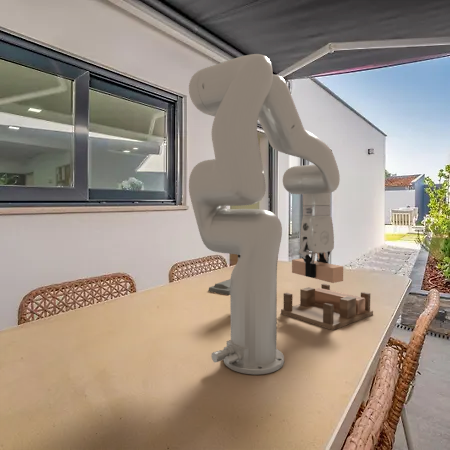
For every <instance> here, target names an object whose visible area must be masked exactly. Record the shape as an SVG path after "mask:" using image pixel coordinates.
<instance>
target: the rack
mask: <svg viewBox="0 0 450 450" xmlns="http://www.w3.org/2000/svg"><path fill="white" fill-rule="evenodd" d="M330 288H331V286H330V284H328V283H322V284H321V287H318V288H314V287H304V288H300V293H299V294H300V296H299V298H300V300H299V301H300V302H299V303H298V304H295V305H293V293H289V292H284V293H283V308H281V310H280V314H282V315H285V316H288V317H291V318H294V319H298V320H301V321H303V322H306V323H310V324H314V325H315V326H319V327H322V328H325V329H328V330H331V331H335V330H337V329H340V328H342V327H345V326H347V325H350V324H352V323H355V322H358V321H360V320H363V319H366V318H368V317H370V316H373V315H374V311H373V310H372V309H371V293H369V292H365V291H362V292H360V296H357V295H354V294H349V293H344V292H339V291H336V290H331V289H330Z"/></svg>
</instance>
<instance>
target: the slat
mask: <svg viewBox="0 0 450 450" xmlns="http://www.w3.org/2000/svg"><path fill="white" fill-rule="evenodd" d="M314 264H316V277H315V278H314V279H315V280H319V281H324V282H327V283H331V284H334V283H335V284H336V283H341V282H344V266H343V265H340V264H339V265H338V264H331V263H328V262H327V263H323V262H318V261H317V260H315V261H314ZM291 273H292V274H296V275H298V276H299V275H300V276H304V277H306V276H305V263H304V259H303V258H302V257H301V258H295V259H291Z"/></svg>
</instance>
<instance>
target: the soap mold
mask: <svg viewBox="0 0 450 450" xmlns="http://www.w3.org/2000/svg"><path fill="white" fill-rule="evenodd" d="M230 279H231V278H230ZM230 279H227V280H223V281H221V282H217V283H215V284H214V285H212V286H210V287H208V291H207V292H209V291H210V293H214V292H216V293H215V294H220V293H221V294H222V295H226V294H227V295H226V296H230Z"/></svg>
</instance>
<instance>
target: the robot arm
mask: <svg viewBox="0 0 450 450" xmlns="http://www.w3.org/2000/svg"><path fill="white" fill-rule="evenodd" d="M273 70H274V69H273V65H272V62H271V61H270V58H268V57H267V56H266V55H264V54H260V53H254V54H253V53H250V54H247V55H242V56H238V57H236V58H234V57H233V58H232V59H231V58H230V59H229V60H225V61H224V62H220V63H217V64H214V65H210V66H207V67H203V68H202V69H200V70H197V71H196V72H195V73H194V74H193V75H192V76H191V79H190V80H189V83H188V94H189V99H190V100H191V102H192V104H193V106H194V107H195V108H196V109H197V110H198V111H199V112H201V113H202V114H205V115H209V116H211V117H214V118H213V122H212V125H211V126H212V127H211V142H212V147H213V151H214V152H213V154H214V159H213V158H212V159H207V160H202V161H200V162H198V163H197V164H195V166H193V168H192V170H191V172H190V174H189V178H188V192H189V196H190V201H191V204H192V205H191V206H192V209H193V213H194V216H195V220H196V224H197V228H198V231H199V236H200V239H201V241H202V243H203V245H204V246H205V248H207V249H208V250H209V251H211V252H215V253H219V254H220V253H221V254H227V255H228V254H230V255H231V254H232V255H237V256H238V255H240V259H239V261H238V260H237V262H236V264H235V265H234V267H233V268H232V271H231V274H230V295H229V296H230V301H229V303H230V340H229V339H228V340H227V341H226V346H225V347H223V349H221V350H220V349H219V350H216V351H213V352H212V353H211V356H210V357H211V359H212V362H213V363H219V362H222V361H223V363H224V365H225V366H226V367H227V368H229V369H231V370H232V371H234V372H238V373H240V374H247V375H253V376H254V375H255V376H256V375H265V374H267V375H268V374H271V373H273V372H276V371H279V369H282V367H283V366H284V363H285V356H284V353H283V352H281V350H279V349H278V348H277V334H278V333H277V329H278V328H277V323H278V322H277V317H278V316H277V313H278V310H277V306H278V305H277V301H278V299H277V298H278V297H277V294H278V293H277V287H278V286H277V284H278V282H277V281H278V277H277V276H278V261H279V260H278V259H279V252H280V248H281V242H282V235H283V234H282V233H283V226H282V222H281V220H280V218H279V217H278V216H277V215H276V214H275V213H274V212H272V211H269V210H266V209H261V208H260V209H259V208H237V209H236V208H235V209H233V208H227V207H229V206H230V207H231V206H233V207H235V206H237V207H239V206H240V207H241V206H249V205H255V204H257V203H259V202H261V201H262V200H263V199H264V197H265V194H266V179H265V178H266V177H265V171H264V166H263V160H262V155H261V151H260V150H261V149H260V144H259V137H258V122H259V123H260V126H261V128H262V130H263V131H264V134H265V136H266V139H267V140H268V143H269V145H270V146H271V148H272V149H274V151H277V152H280V153H283V154H285V155H288V156H293V157H295V158H296V157H297V158H300V159H303V160H306V161H308V162H310V163H311V164H305V165H295V166H292V167H289V168H287V169H286V170H285V171H284V173H283V175H282V185H283V188H284V189H285V190H286V191H287V192H288V193H290V194H292V195H302V217H301V218H302V219H301V224H300V225H301V226H300V239H299V240H300V241H299V244H300V248H299V250H298V255H299V256H300V257H301V258H302V259H304V263H305V276H304V277H307V278H312V279H315V277H316V264H314V261H318V262H323V263H328V261H329V257H330V255H331V253H332V251H333V250H334V248H335V236H334V235H335V234H334V223H333V218H332V216H331V193H333V192H335V191H337V189H338V188H339V185H340V181H341V179H340V177H341V176H340V171H339V168H338V164H337V161H336V158H335V155H334V153H333V151H332V149H331V147H329V146H328V144H326V143H325V142H323V140H322V139H321V138H319V137H318V136H316V135H315V134H314V133H312V132H310V131H308V130H306V129H305V127H304V125H303V122H302V120H301V117H300V115H299V112H298V109H297V107H296V104H295V102H294V99H293V96H292V94H291V91H290V89H289V85H288V84H287V82H286V80H285V79H284V77H282V76H280V75H278V74H273V72H274V71H273ZM316 254H317V259H316ZM315 259H316V260H315Z"/></svg>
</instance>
